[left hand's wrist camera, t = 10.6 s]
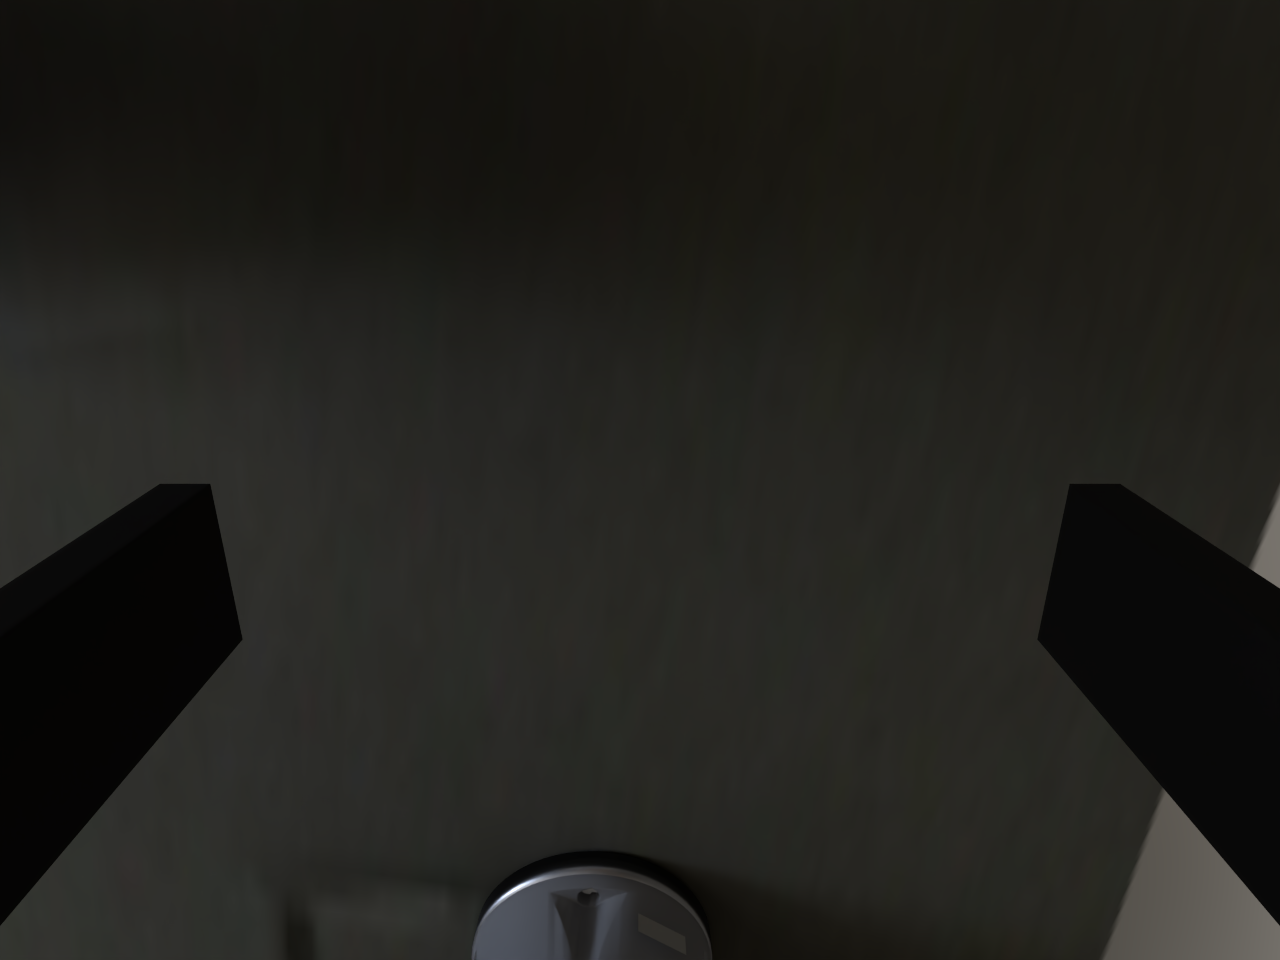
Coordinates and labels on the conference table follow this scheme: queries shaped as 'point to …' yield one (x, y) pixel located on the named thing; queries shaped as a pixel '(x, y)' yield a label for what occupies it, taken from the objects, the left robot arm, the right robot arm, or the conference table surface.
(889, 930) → the conference table surface
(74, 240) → the conference table surface
